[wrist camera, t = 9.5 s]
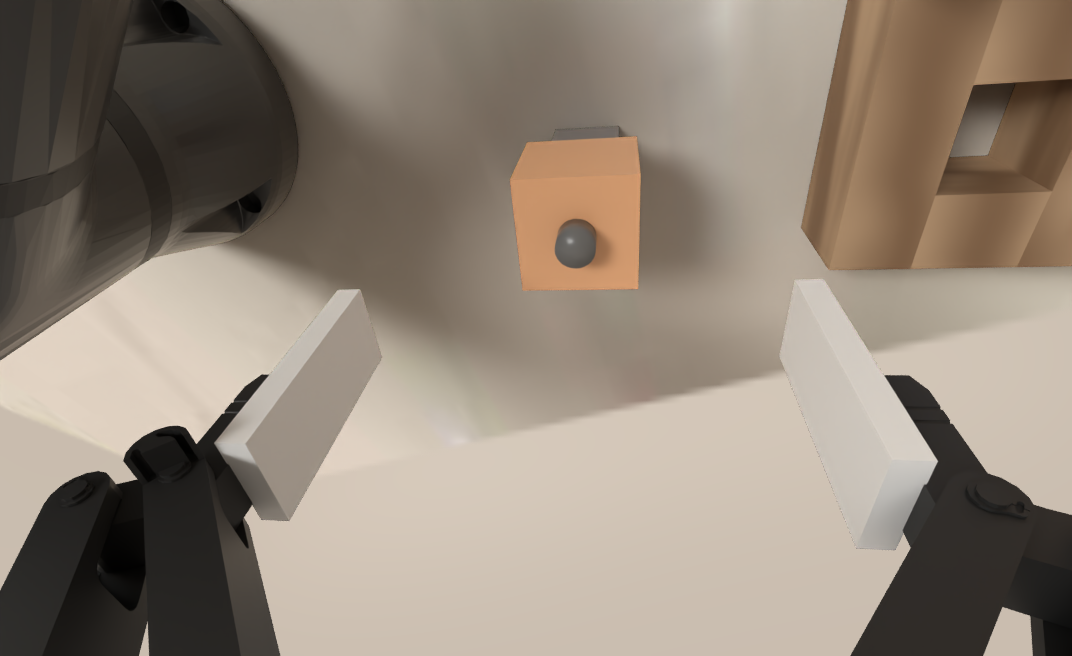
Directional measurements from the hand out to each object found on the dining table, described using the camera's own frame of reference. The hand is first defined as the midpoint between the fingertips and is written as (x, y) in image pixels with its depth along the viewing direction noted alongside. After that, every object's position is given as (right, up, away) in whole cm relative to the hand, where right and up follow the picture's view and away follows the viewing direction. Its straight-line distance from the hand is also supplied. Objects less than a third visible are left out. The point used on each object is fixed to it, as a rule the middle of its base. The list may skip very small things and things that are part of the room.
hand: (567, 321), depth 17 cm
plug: (+2, +9, +13) cm, 16 cm away
